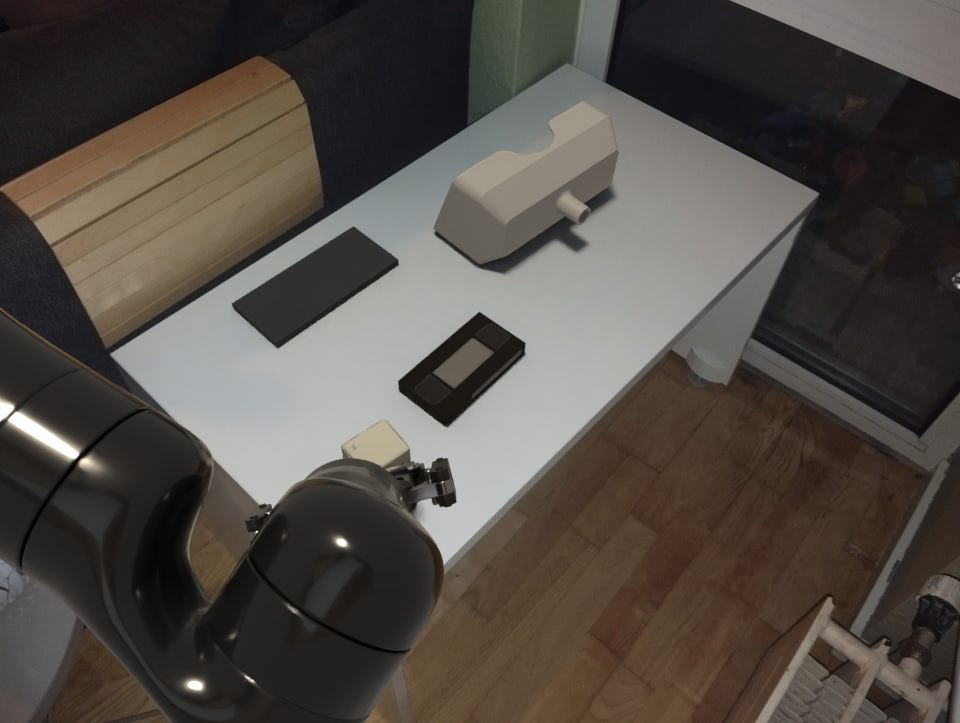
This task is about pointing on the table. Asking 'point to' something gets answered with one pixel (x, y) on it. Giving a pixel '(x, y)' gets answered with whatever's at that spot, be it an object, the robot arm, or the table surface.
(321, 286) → the scrub mat
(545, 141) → the table surface
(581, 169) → the tank
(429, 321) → the table surface
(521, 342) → the vhs tape
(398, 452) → the box
